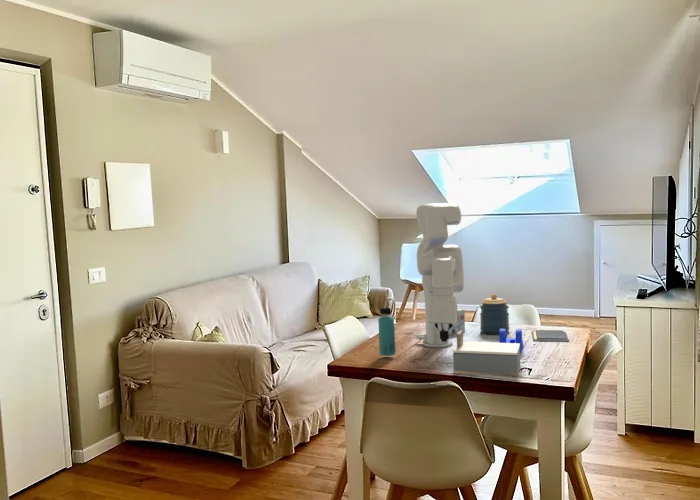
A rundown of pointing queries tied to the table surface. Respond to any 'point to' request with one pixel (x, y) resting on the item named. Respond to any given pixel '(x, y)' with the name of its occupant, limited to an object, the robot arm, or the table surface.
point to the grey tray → (486, 363)
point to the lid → (485, 347)
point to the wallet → (549, 336)
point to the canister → (494, 315)
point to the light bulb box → (461, 323)
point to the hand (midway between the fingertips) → (444, 341)
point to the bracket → (511, 340)
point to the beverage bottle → (386, 333)
